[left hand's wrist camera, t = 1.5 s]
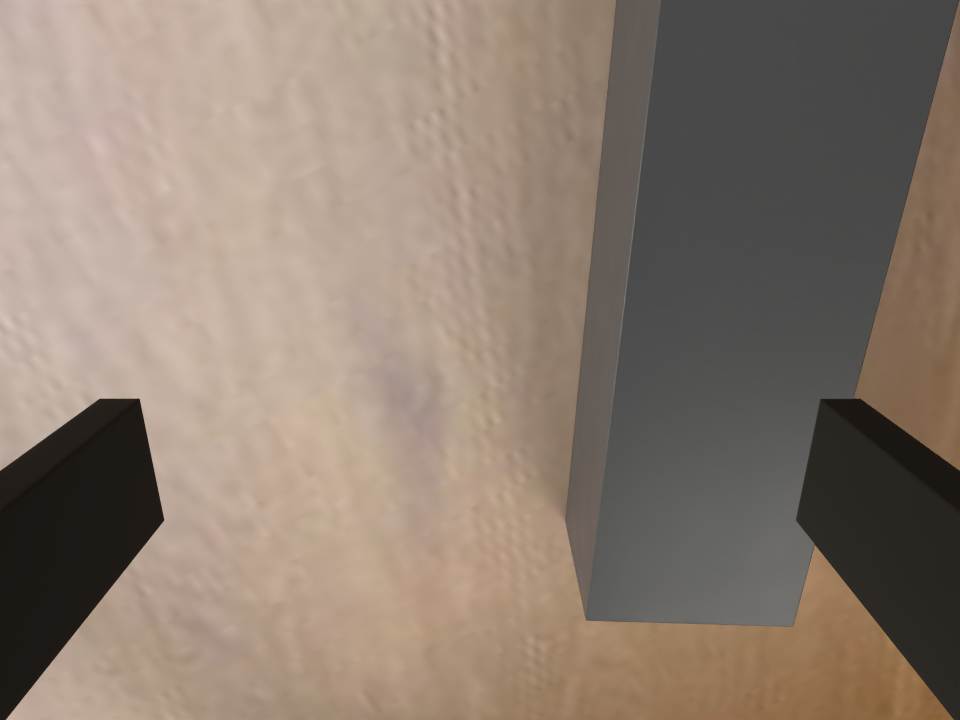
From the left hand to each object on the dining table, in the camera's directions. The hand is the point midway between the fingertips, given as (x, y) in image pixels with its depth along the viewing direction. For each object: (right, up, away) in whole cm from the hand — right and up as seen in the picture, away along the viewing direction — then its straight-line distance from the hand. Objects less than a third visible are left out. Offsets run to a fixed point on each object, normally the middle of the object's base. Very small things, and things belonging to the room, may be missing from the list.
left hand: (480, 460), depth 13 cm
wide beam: (+10, +26, +8) cm, 29 cm away
